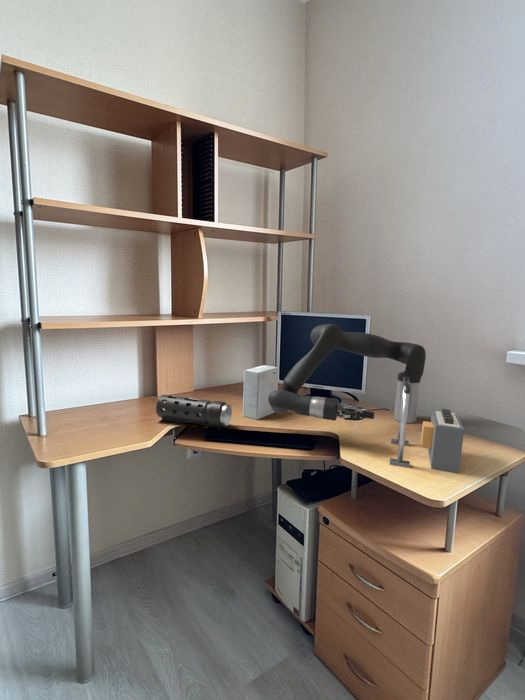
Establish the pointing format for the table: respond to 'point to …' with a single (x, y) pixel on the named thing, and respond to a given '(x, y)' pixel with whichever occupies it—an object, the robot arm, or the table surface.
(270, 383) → the hard drive box
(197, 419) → the muzzle brake
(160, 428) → the table surface
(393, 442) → the cord gate
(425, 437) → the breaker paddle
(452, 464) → the box
